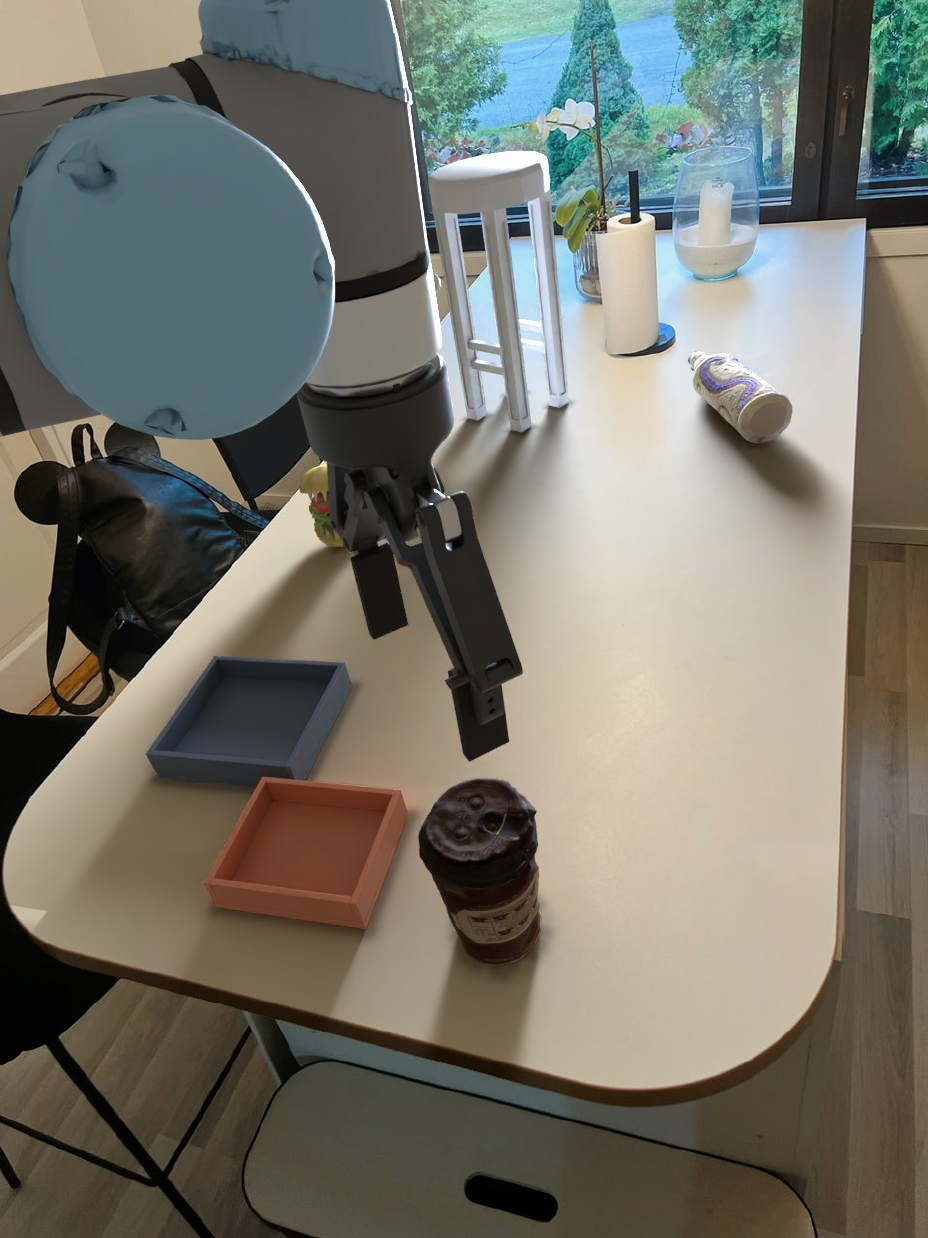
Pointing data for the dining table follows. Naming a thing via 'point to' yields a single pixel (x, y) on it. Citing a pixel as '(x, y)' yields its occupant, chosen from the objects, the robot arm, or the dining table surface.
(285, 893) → the terracotta tray
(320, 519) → the hamburger
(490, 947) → the labeled brown jar
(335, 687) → the slate tray
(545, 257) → the stool
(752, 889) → the dining table surface
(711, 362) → the decorative bottle
